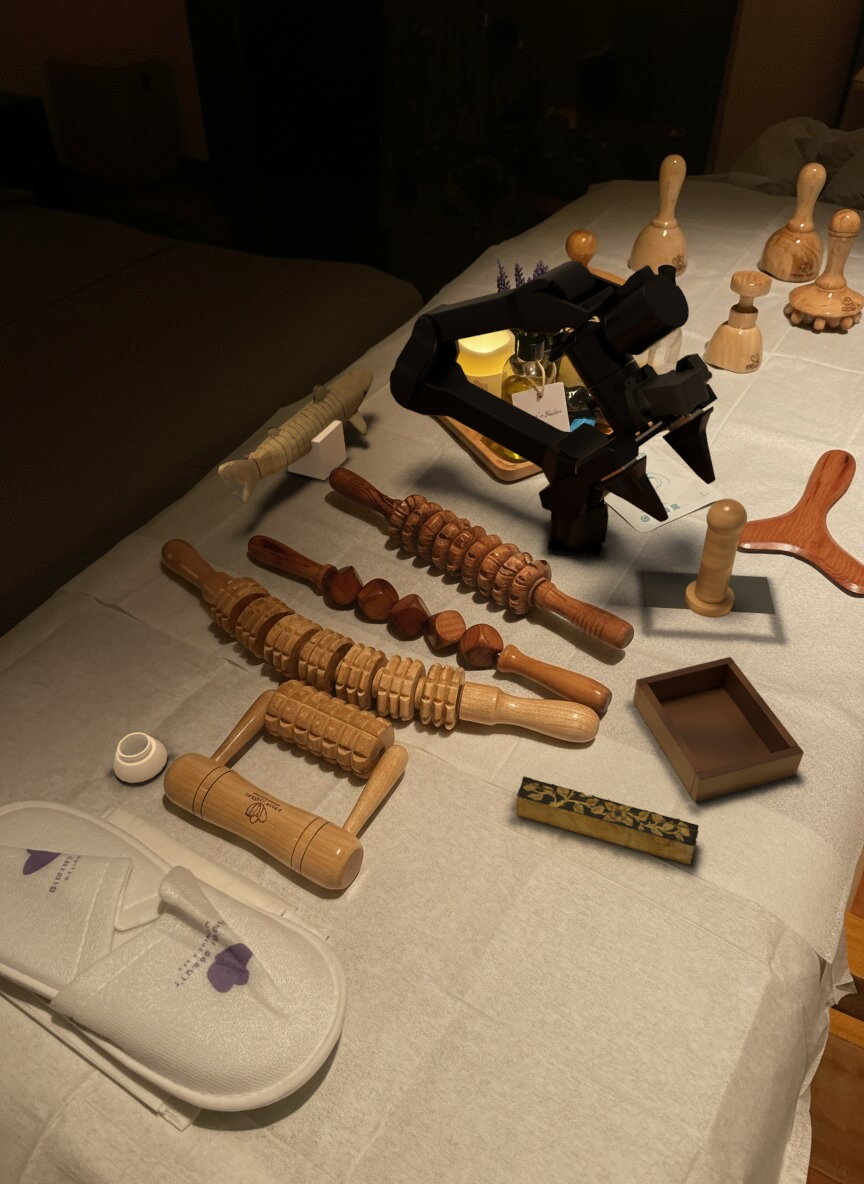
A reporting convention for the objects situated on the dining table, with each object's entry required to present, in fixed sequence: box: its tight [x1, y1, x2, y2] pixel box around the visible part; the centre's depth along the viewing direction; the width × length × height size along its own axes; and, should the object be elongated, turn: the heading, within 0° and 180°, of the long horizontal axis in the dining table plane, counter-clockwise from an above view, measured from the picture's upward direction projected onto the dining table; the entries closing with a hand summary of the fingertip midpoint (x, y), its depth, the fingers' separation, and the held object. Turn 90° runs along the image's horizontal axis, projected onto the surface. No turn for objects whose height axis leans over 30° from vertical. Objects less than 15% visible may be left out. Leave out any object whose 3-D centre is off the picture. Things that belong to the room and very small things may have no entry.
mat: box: [642, 570, 776, 615], centre depth 98 cm, size 14×10×1 cm
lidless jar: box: [112, 731, 168, 784], centre depth 83 cm, size 5×3×5 cm
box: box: [632, 656, 805, 803], centre depth 82 cm, size 13×10×4 cm
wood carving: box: [217, 367, 374, 505], centre depth 119 cm, size 9×35×11 cm, turn 153°
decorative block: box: [516, 775, 700, 866], centre depth 75 cm, size 15×2×4 cm, turn 69°
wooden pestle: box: [685, 498, 748, 618], centre depth 93 cm, size 5×5×14 cm
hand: (688, 500), depth 92 cm, fingers open, 9 cm apart
